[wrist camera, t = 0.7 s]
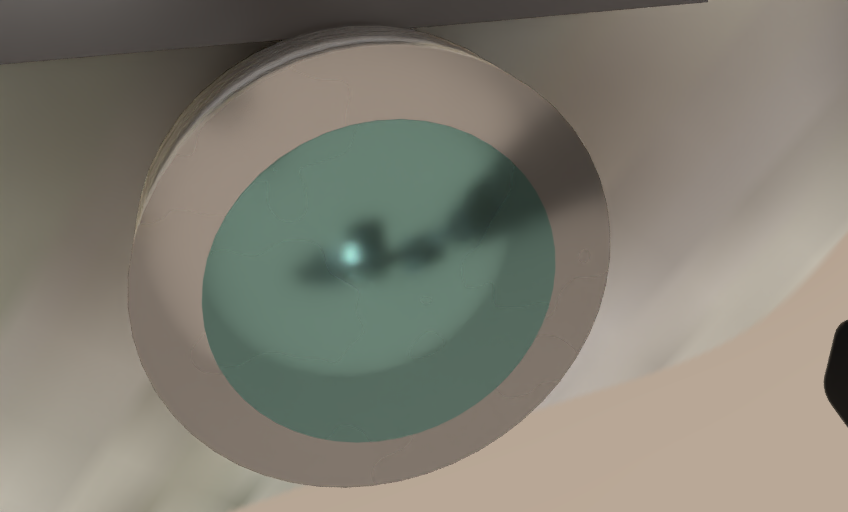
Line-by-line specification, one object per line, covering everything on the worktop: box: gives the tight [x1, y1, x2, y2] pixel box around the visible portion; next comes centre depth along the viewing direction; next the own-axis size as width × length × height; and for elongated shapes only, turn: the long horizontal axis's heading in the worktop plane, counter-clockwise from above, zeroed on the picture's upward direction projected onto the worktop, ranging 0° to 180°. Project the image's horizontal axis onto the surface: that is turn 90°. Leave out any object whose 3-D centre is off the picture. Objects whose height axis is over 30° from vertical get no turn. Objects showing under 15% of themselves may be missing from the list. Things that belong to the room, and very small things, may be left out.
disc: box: [128, 25, 610, 488], centre depth 11 cm, size 7×7×2 cm
